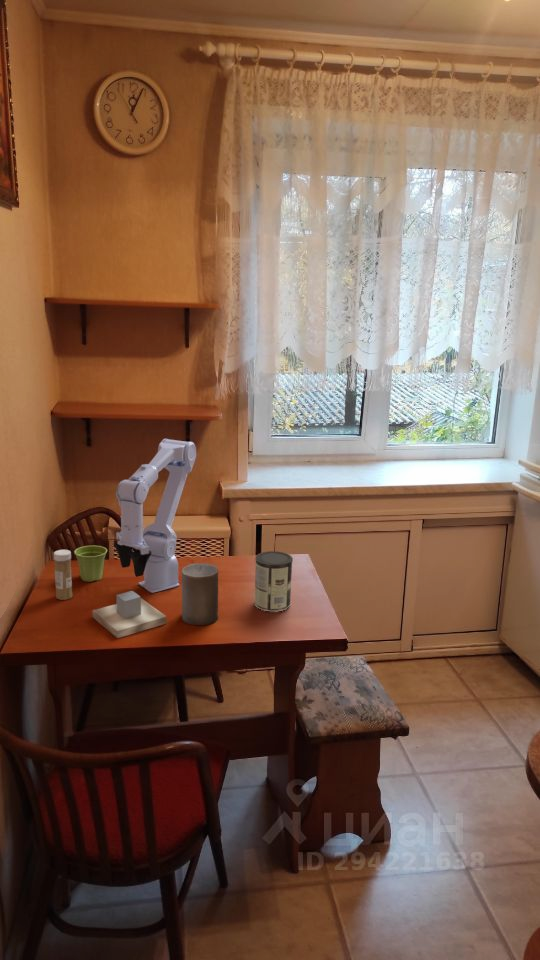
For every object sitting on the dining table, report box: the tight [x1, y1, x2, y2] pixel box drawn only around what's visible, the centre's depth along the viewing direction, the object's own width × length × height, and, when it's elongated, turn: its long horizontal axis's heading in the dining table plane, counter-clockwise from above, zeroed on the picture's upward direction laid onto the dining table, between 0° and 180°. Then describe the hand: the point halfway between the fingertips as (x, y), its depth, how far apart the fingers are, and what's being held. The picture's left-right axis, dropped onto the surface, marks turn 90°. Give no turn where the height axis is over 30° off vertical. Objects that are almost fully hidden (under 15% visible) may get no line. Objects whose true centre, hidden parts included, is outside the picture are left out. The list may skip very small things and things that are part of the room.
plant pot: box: [73, 545, 108, 583], centre depth 203 cm, size 9×9×9 cm
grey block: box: [116, 590, 142, 619], centre depth 177 cm, size 5×5×5 cm
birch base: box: [92, 598, 167, 639], centre depth 178 cm, size 14×14×2 cm
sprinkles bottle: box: [53, 549, 74, 601], centre depth 189 cm, size 5×5×13 cm
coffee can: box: [253, 550, 294, 613], centre depth 189 cm, size 10×10×14 cm
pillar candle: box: [181, 562, 219, 626], centre depth 180 cm, size 10×10×15 cm
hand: (132, 571), depth 186 cm, fingers open, 7 cm apart
